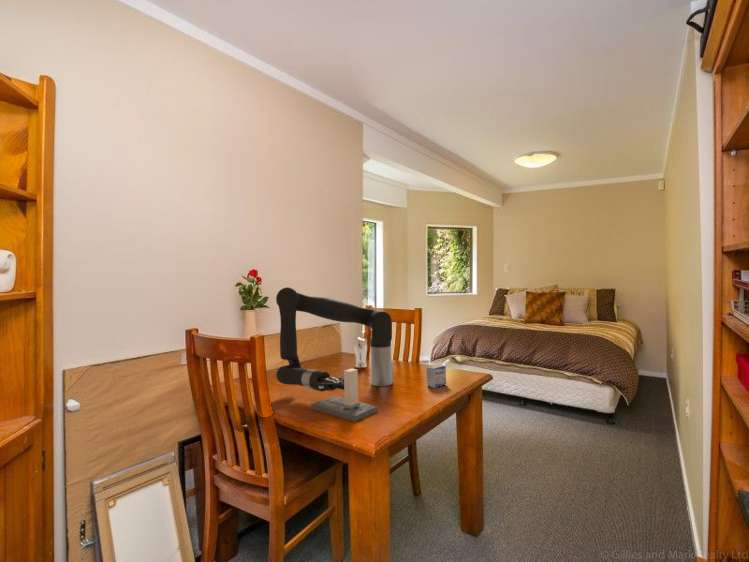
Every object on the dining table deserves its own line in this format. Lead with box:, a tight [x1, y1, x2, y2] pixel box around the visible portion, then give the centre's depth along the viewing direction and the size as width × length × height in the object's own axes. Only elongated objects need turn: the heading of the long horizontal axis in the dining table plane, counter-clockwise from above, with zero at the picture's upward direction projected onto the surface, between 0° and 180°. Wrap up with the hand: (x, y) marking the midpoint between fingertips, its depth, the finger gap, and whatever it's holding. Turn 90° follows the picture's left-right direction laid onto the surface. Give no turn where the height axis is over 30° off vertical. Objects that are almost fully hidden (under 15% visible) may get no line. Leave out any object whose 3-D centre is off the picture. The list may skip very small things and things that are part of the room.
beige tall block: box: [343, 368, 361, 409], centre depth 140 cm, size 5×4×13 cm
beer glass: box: [353, 337, 368, 369], centre depth 211 cm, size 7×7×15 cm
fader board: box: [310, 395, 378, 423], centre depth 143 cm, size 12×22×2 cm, turn 51°
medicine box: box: [426, 364, 447, 389], centre depth 171 cm, size 8×4×9 cm, turn 129°
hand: (348, 387), depth 141 cm, fingers closed
